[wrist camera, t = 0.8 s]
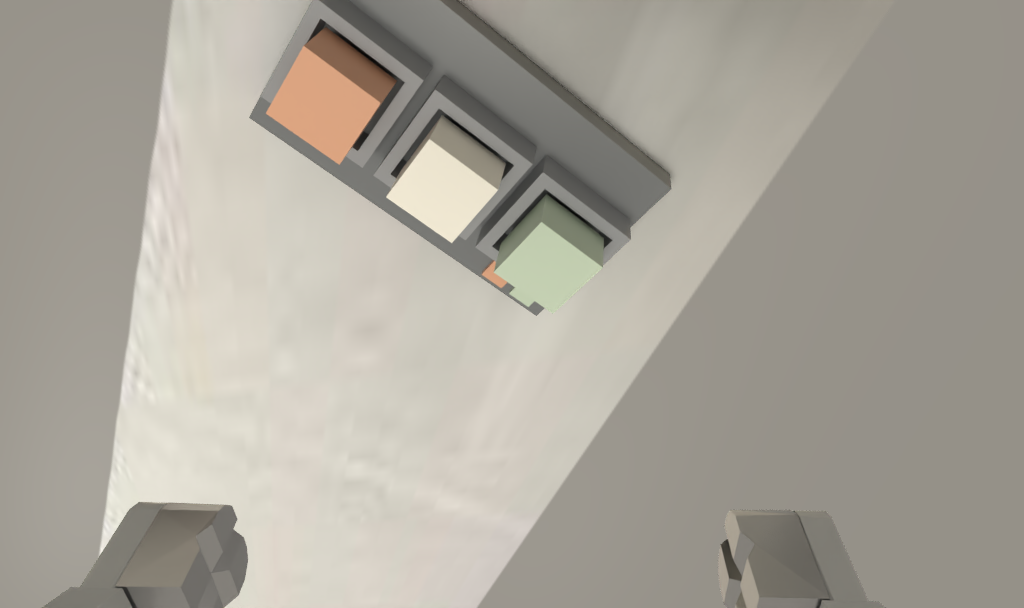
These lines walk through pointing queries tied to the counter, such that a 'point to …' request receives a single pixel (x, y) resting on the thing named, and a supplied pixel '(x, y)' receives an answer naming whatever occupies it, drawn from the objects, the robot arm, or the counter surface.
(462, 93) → the keypad base
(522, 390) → the counter surface
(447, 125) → the key cream
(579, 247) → the key sage
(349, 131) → the key rust
